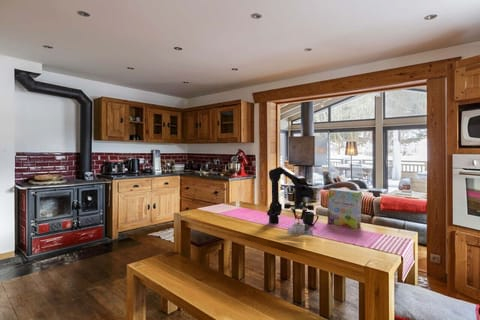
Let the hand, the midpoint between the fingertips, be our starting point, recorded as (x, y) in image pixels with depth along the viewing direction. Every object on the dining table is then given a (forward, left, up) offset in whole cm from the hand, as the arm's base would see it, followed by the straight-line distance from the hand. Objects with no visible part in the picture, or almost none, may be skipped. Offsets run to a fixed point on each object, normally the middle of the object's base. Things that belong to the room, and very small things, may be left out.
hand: (298, 219), depth 175 cm
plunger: (0, 0, -5) cm, 5 cm away
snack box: (+32, +28, -9) cm, 43 cm away
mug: (+8, +18, -9) cm, 22 cm away
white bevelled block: (+1, 0, -8) cm, 8 cm away
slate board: (+1, 0, -8) cm, 9 cm away
